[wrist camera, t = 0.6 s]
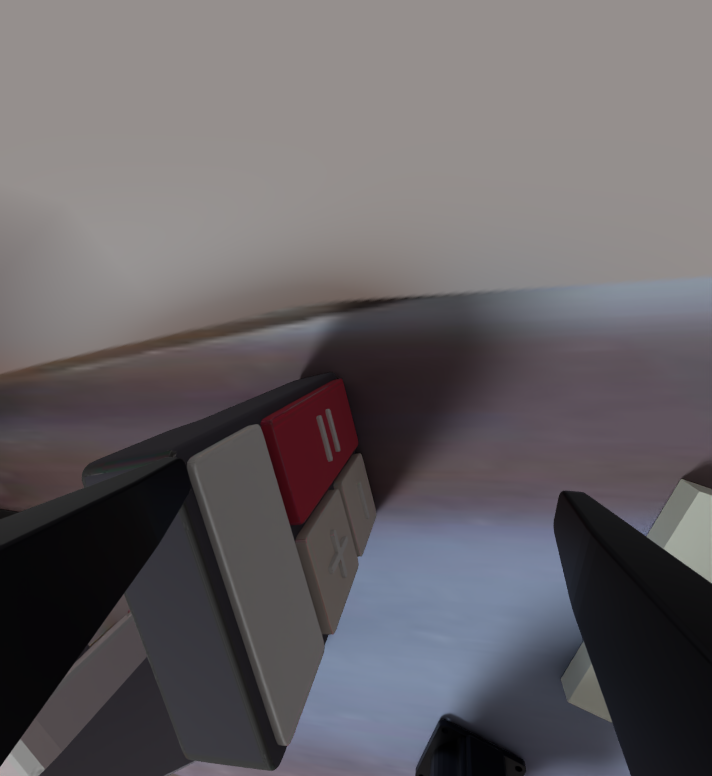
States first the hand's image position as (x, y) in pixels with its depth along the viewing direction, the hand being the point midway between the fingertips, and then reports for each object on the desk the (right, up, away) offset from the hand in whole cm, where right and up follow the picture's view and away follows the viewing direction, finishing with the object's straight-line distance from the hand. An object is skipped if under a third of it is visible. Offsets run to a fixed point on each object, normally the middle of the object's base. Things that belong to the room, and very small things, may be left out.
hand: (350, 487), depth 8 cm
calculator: (-1, -2, +17) cm, 17 cm away
